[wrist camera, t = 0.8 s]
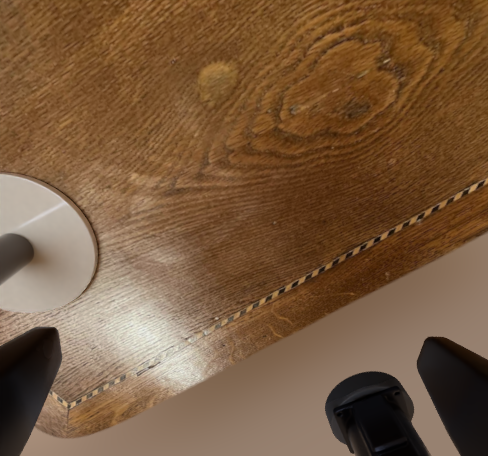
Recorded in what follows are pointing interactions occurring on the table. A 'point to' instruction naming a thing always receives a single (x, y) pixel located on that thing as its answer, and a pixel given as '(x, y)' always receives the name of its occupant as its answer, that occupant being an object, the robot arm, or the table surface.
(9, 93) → the table surface
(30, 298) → the pole on white disc
